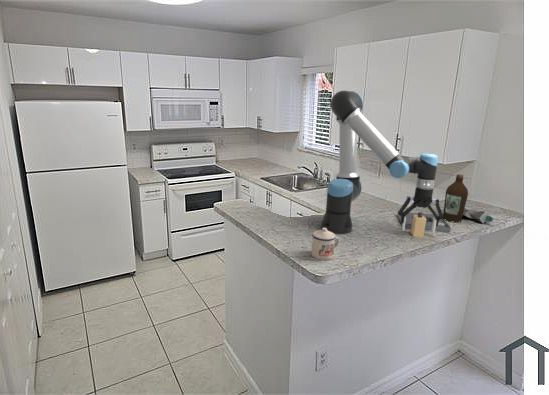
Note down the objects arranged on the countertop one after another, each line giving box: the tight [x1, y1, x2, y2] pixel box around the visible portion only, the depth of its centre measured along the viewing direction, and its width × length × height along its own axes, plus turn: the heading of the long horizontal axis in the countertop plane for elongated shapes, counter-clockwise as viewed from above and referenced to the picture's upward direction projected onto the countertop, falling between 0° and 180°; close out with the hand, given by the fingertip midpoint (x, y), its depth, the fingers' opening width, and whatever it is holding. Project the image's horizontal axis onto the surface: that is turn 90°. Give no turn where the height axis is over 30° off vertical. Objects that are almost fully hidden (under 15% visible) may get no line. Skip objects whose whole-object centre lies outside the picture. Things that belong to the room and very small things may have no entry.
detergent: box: [463, 207, 494, 224], centre depth 195 cm, size 13×7×25 cm
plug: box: [410, 211, 426, 238], centre depth 167 cm, size 4×6×11 cm
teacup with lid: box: [311, 228, 340, 261], centre depth 140 cm, size 12×9×12 cm
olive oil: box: [442, 174, 469, 223], centre depth 190 cm, size 11×11×25 cm
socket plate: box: [396, 211, 452, 233], centre depth 184 cm, size 22×20×4 cm
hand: (417, 230), depth 168 cm, fingers open, 13 cm apart
